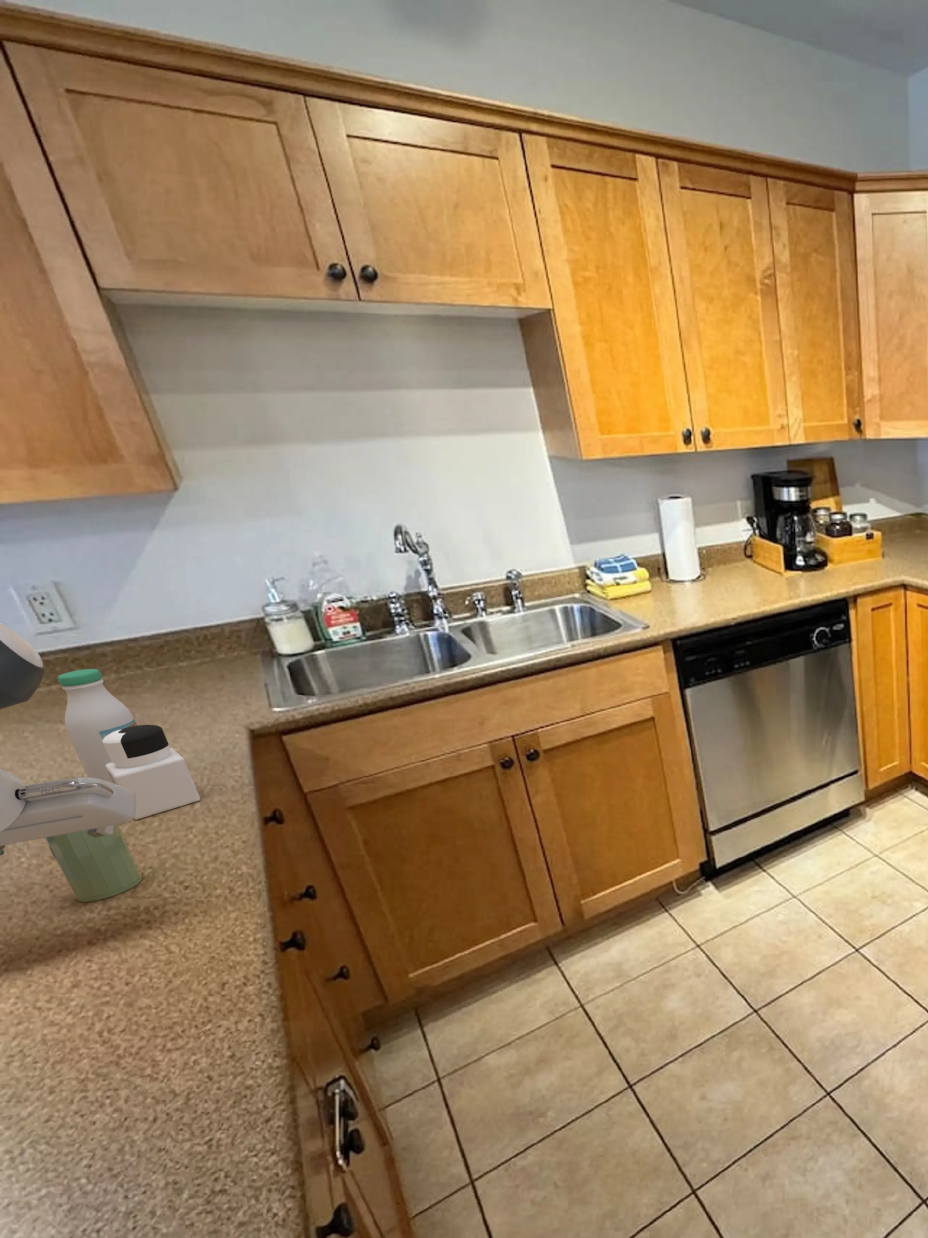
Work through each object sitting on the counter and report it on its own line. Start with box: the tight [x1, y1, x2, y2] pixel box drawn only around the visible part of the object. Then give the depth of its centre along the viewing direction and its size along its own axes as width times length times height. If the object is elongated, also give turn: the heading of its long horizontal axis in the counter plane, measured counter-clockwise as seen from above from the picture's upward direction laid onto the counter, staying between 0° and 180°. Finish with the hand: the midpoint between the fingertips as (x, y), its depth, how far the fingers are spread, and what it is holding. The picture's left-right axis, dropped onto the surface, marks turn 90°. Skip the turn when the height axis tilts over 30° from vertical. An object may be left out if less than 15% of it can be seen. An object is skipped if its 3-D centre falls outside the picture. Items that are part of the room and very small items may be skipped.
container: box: [102, 724, 201, 821], centre depth 115 cm, size 8×8×13 cm
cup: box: [44, 824, 143, 903], centre depth 94 cm, size 6×6×10 cm
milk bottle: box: [57, 668, 138, 783], centre depth 121 cm, size 8×8×20 cm
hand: (52, 840), depth 87 cm, fingers open, 8 cm apart
